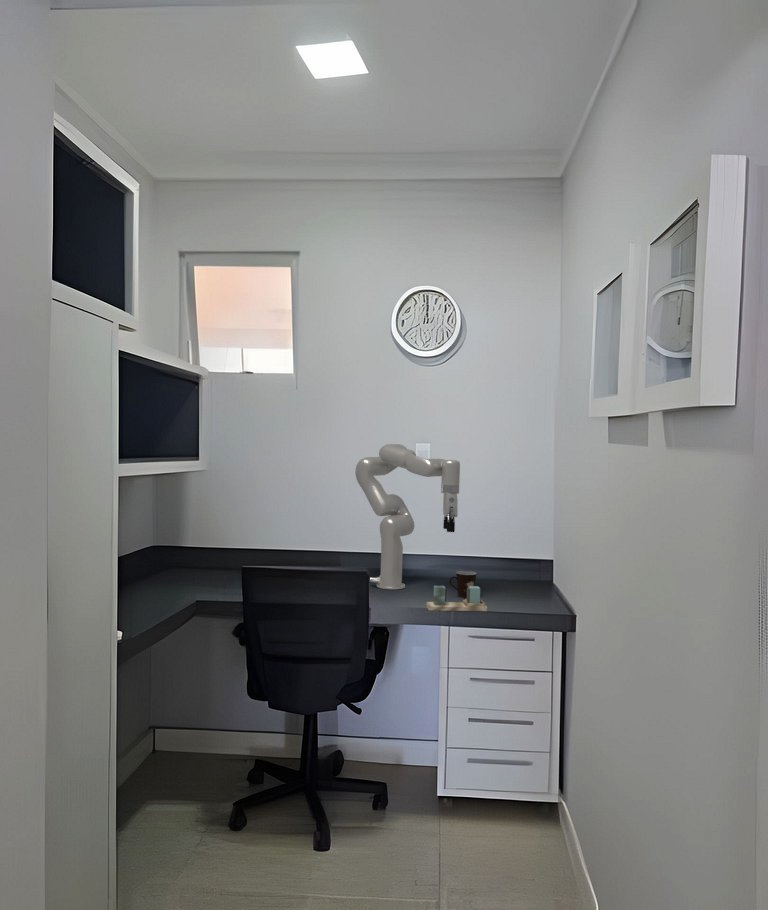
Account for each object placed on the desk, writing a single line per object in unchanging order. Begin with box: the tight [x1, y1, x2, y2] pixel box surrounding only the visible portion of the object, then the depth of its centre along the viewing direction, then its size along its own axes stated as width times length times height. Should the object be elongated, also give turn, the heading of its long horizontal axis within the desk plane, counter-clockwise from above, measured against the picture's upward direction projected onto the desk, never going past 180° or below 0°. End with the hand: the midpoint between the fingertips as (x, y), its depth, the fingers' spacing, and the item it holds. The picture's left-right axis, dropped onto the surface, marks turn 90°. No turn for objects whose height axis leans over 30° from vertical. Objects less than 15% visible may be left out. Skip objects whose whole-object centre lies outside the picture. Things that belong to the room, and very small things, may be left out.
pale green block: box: [466, 585, 481, 604], centre depth 318 cm, size 5×4×7 cm
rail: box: [425, 585, 488, 612], centre depth 318 cm, size 23×8×8 cm, turn 94°
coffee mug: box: [449, 570, 477, 599], centre depth 341 cm, size 12×9×10 cm
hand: (448, 530), depth 337 cm, fingers open, 9 cm apart
